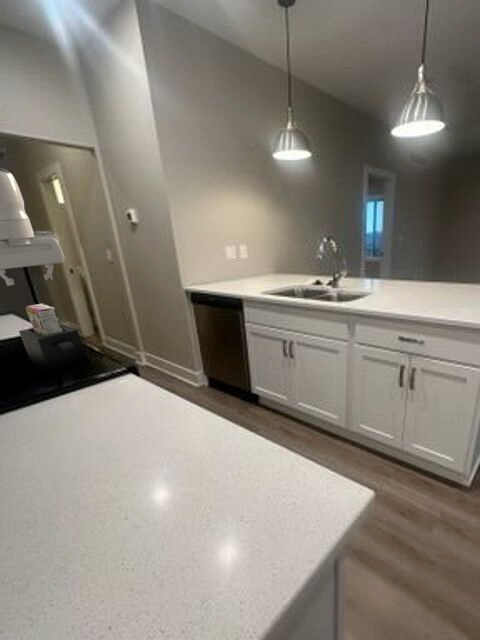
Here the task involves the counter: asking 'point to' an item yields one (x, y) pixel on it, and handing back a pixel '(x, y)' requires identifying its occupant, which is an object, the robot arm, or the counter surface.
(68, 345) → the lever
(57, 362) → the dark grey storage bin
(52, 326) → the candy bar box
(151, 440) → the counter surface
